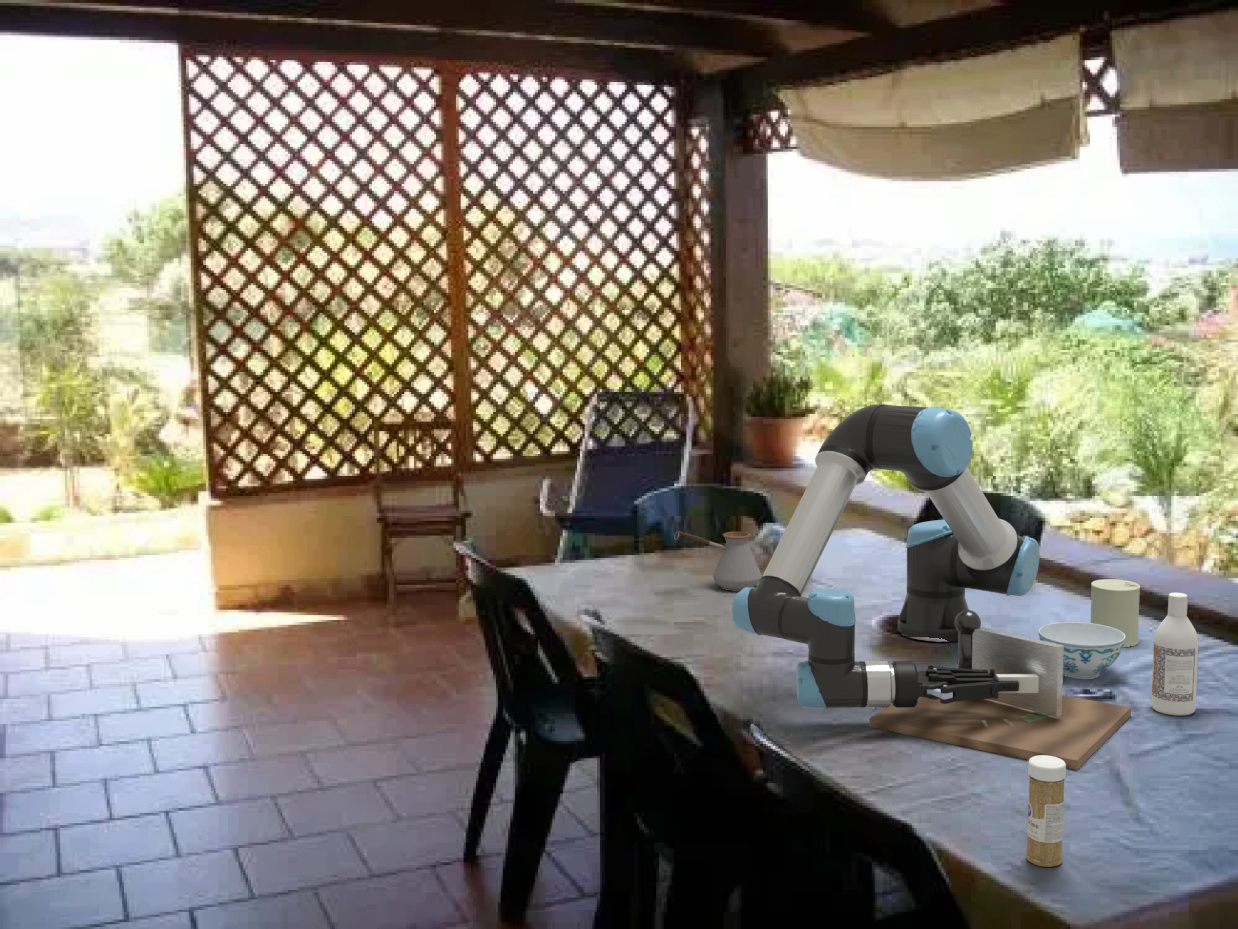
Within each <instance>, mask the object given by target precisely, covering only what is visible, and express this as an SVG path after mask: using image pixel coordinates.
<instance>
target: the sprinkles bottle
mask: <svg viewBox="0 0 1238 929" xmlns="http://www.w3.org/2000/svg"><path fill="white" fill-rule="evenodd" d="M1027 774H1028V777H1029V783H1028V784H1029V787H1028V804H1027V808H1028V809H1027V830H1026V834H1027V838H1026V840H1027V842H1026V844H1027V845H1026V848H1027V849H1026V852H1025V858H1026V860H1027V861H1028V862H1030V863H1031V864H1033V865H1035V866H1038V867H1043V868H1044V867H1045V868H1047V867H1056V866H1059V865H1061V864H1062V862H1063V855H1062V852H1063V851H1062V850H1063V839H1064V838H1063V836H1064V816H1065V814H1064V813H1065V812H1064V811H1065V809H1064V808H1065V798H1064V797H1065V796H1064V795H1065V791H1064V789H1065V779H1066V776H1067V768H1066V764H1065V762H1064V761H1063V760H1062V759H1060V758H1057V757H1054V756H1048V755H1038V756H1034V757H1032V758H1030V759H1029V760H1028V764H1027Z"/></svg>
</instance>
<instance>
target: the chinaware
mask: <svg viewBox="0 0 1238 929" xmlns="http://www.w3.org/2000/svg"><path fill="white" fill-rule="evenodd" d="M1038 636H1039V640H1042V641H1046V642H1051V643H1055V644H1060V645H1064V653H1063V676H1065V675H1066V676H1065V677H1067V676H1068V677H1067V678H1070V677H1071V679H1076V680H1077V679H1078V680H1092V679H1093V680H1094V679H1097V678H1099V677H1100V676H1101V672H1102V671H1105V670H1107V669H1108V668H1109V667H1110V666H1112V664H1114V663H1116V662H1115V661H1117V659H1118V658H1119V656H1120V654H1121V653H1122V651H1123V648H1124V647H1123V646H1124V642H1125V634H1124V633H1123V632H1121V631H1120V630H1117V629H1115V628H1112V627H1109V626H1104V625H1099V624H1093V623H1091V622H1081V621H1063V622H1061V621H1060V622H1053V623H1048V624H1045V625H1043V626H1041V627H1040V628H1039V629H1038Z"/></svg>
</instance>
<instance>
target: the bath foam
mask: <svg viewBox="0 0 1238 929" xmlns="http://www.w3.org/2000/svg"><path fill="white" fill-rule="evenodd" d="M1188 599H1189V598H1188V594H1186V593H1183V592H1169V593H1168V600H1167V602H1168V606H1167V615H1166V617H1165V618H1164V619H1163V620H1162V621H1161V623H1160V624H1159V625H1158V626H1157V628H1156V631H1155V634H1154V637H1153V648H1152V650H1153V651H1152V652H1153V653H1152V673H1151V674H1152V675H1151V677H1152V678H1151V702H1150V703H1151V708H1152V709H1153V710H1155V711H1156V712H1159V713H1160V714H1164V715H1169V716H1189V715H1192V714H1194V713H1195V712H1196V708H1197V695H1198V693H1197V692H1198V676H1199V675H1198V673H1199V672H1198V670H1199V652H1200V650H1199V649H1200V645H1199V636H1198V633H1197V631H1196V628H1195V627H1194V625H1193V624H1192V621H1191V620H1190V619H1189V617H1188V616H1187V615H1188Z"/></svg>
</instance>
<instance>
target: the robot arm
mask: <svg viewBox="0 0 1238 929" xmlns="http://www.w3.org/2000/svg"><path fill="white" fill-rule="evenodd" d="M971 436H972V430H971V428H970V426H969V423H968V422H967V420H966V418H965V417H964V416H963V415H962V414H960V412H958V411H955V410H954V409H947V408H943V407H940V406H915V405H914V406H913V405H912V406H910V405H893V404H882V403H879V404H871V405H867V406H864V407H860V409H858V410H856V411H854V412H852V413H851V414H850V415H848V416H846V418H845V419H843V420H842V421H841V422H839V423H838V424H837V426H835V428H833V430H832V431H831V432H830V433H829V435H828V436H827V437H826V439H824V441H823V442H822V443H821V444H822V445H821V446H820V448H819V450H818V452H817V453H816V455H815V458H814V462H815V465H816V469H815V471H814V473H813V474H812V476H811V479H810V481H809V482H808V484H807V487H806V488H805V489H804V490H805V491H804V492H803V495H802V496H801V499H800V500H799V502H798V504H797V506H796V508H795V510H794V512H793V514H792V516H791V518H790V520H789V521H788V525H787V526H786V528H785V530H784V532H783V534H782V535H781V538H780V540H779V542H778V544H777V546H776V548H775V550H774V552H773V554H772V556H771V557H770V559H769V562H768V564H767V566H766V568H765V570H764V571H763V572H764V573H763V574H762V577H761V579H760V581H759V583H758V584H757V585H756V586H754V587H751V588H743V589H742V590H741V591H737V593H736V595H735V596H734V599H733V601H732V606H731V616H732V621H733V623H734V624H735V626H736V627H737V628H738V629H740V630H743V631H746V632H749V633H752V634H755V635H757V636H762V635H763V636H767V637H773V638H778V639H783V640H786V641H791V642H795V643H800V644H804V645H807V646H808V656H807V658H808V659H807V660H805V661H799V662H798V663H797V664H796V666H795V667H796V668H795V690H796V698H797V702H798V704H799V705H800V706H801V707H805V708H815V709H816V708H818V709H825V710H826V709H827V710H828V709H846V708H847V709H850V708H861V709H862V708H870V710H872V711H876V710H877V708H886V707H889V706H890V705H891V704H893V706H895V707H896V708H907V707H915V706H916V705H917V702H918V698H919V697H927V698H929V699H939V698H940V703H942V704H947V703H951V702H956V701H967V700H979V699H990V698H995V699H998V693H1038V684H1039V677H1038V676H1037V674H996V676H995V670H994V669H990V673H988V670H979V669H963V668H958V667H947V666H946V667H944V666H937V665H933V664H930V665H927V669H925V670H917V669H918V668H917V665H916V663H915V661H911V660H893V662H891V664H890V663H889V661H887V660H866V661H865V660H864V661H862V660H861V661H856V660H855V658H856V657H855V655H856V654H855V653H856V652H855V651H856V650H855V646H856V645H855V644H856V622H857V617H856V609H855V598H854V595H853V594H852V593H851V592H850V591H848V590H846V589H842V588H837V587H836V588H831V587H823V588H821V587H820V588H817V589H816V588H815V589H814V590H811V592H809V594H808V597H805V596H804V597H803V596H802V595H803V594H804V591H805V589H806V587H807V586H808V583H809V581H810V579H811V578H812V575H813V573H814V571H815V569H816V567H817V565H818V563H819V561H820V559H821V556H822V555H823V552H824V551H825V549H826V546H827V545H828V542H829V541H830V538H831V536H832V534H833V532H834V530H835V528H836V526H837V524H838V522H839V520H840V518H841V516H842V514H843V511H844V510H845V508H846V506H847V504H848V502H849V499H850V497H851V496H852V493H853V492H854V489H855V487H856V486H858V485H861V484H863V483H864V482H865V480H866V478H867V475H868V474H869V473H870V472H871V471H874V470H876V469H877V470H885V471H894V472H896V471H897V472H900V473H902V474H903V475H904V476H905V478H906V480H907V481H908V482H909V483H910V485H911V486H913V487H914V488H915V489H917V490H920V491H923V492H925V493H926V494H927V496H928V497H929V498H930V500H931V502H932V503H933V506H935V508H936V509H937V512H938V513H939V514H940V515H941V516H942V519H938V520H929V521H923V522H918V523H916V524H913V525H911V526H910V528H909V529H908V532H907V536H906V538H907V539H906V540H907V541H906V546H905V548H906V595H905V599H904V601H903V604H902V607H901V610H900V613H899V616H898V619H897V632H898V631H899V632H901V633H903V634H905V635H908V636H912V637H929V638H939V639H941V638H942V639H945V640H947V641H950V642H949V643H953V642H954V641H955V642H958V635H959V632H958V631H957V629H956V628H955V623H954V622H955V618H956V616H957V614H958V613H960V612H961V611H964V610H970V608H969V606H968V602H967V599H966V589H970V590H975V591H983V592H990V593H995V594H1001V595H1006V596H1008V597H1010V596H1013V597H1014V596H1016V597H1023V596H1025V595H1027V593H1029V591H1030V590H1031V589H1032V587H1033V586H1034V584H1035V581H1036V579H1037V575H1038V570H1039V566H1040V565H1039V564H1040V546H1039V543H1038V541H1037V540H1036V539H1035V538H1033V537H1029V535H1028V536H1027V535H1026V536H1020V535H1019V534H1018V533H1017V531H1016V529H1015V527H1013V526H1012V524H1011V523H1009V522H1008V521H1007V520H1004V519H1001V518H999V517H998V516H997V514H996V512H995V510H994V509H993V507H992V505H991V504H990V502H989V500H988V498H987V497H986V496H985V494H984V492H983V491H982V489H981V488H980V486H979V484H978V482H977V481H976V479H975V478H974V476H973V474H972V473H971V471H970V469H969V467H968V465H969V463H970V461H971V458H972V455H973V443H974V442H973V440H972V439H971ZM951 641H953V642H951Z"/></svg>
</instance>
